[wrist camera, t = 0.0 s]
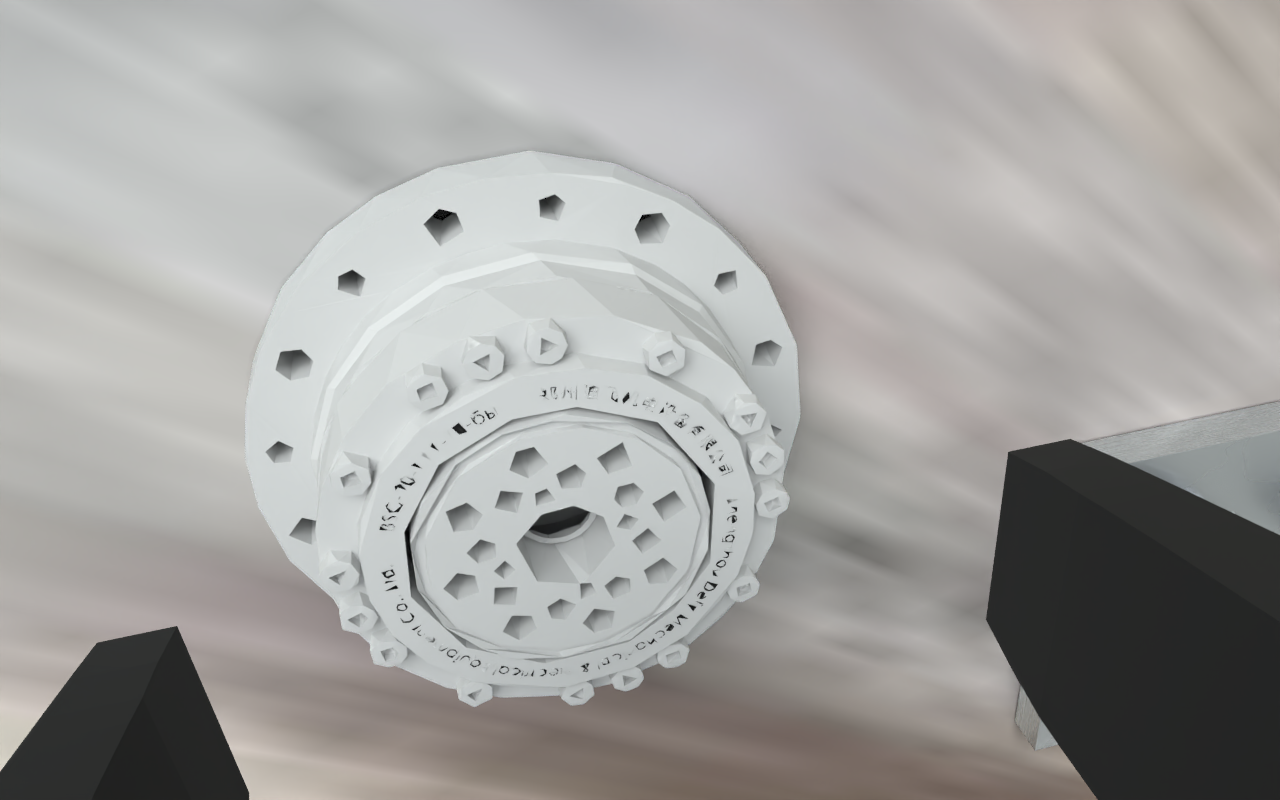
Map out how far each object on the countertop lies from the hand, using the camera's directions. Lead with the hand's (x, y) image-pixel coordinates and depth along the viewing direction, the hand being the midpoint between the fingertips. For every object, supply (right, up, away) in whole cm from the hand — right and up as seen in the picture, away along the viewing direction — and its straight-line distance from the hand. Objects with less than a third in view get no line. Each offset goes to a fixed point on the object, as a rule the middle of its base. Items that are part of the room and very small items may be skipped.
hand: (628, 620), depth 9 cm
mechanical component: (-2, +2, +11) cm, 11 cm away
